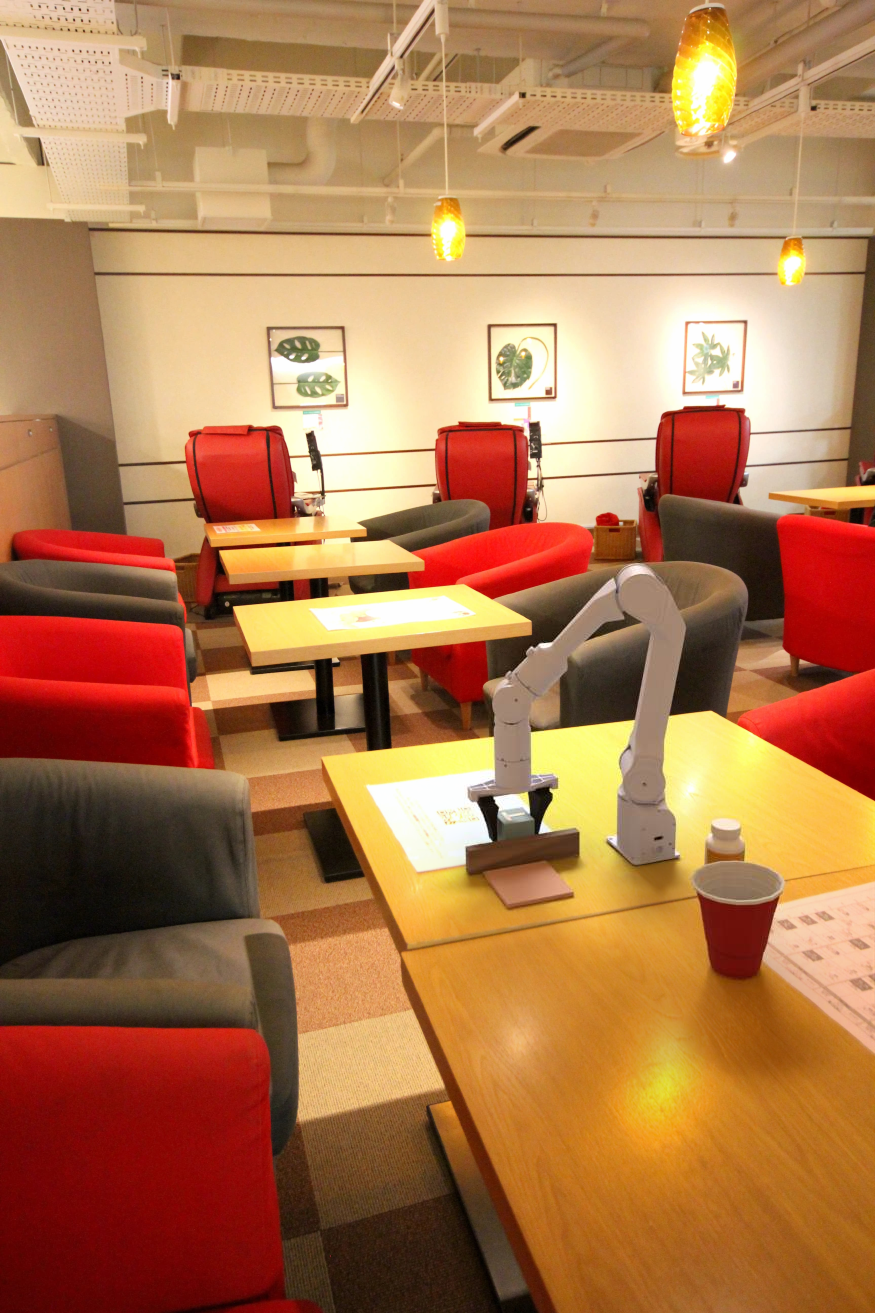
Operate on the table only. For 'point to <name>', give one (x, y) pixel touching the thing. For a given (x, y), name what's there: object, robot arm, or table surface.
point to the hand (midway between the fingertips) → (513, 835)
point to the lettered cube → (514, 824)
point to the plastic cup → (737, 913)
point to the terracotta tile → (527, 884)
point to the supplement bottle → (724, 842)
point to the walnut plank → (522, 850)
